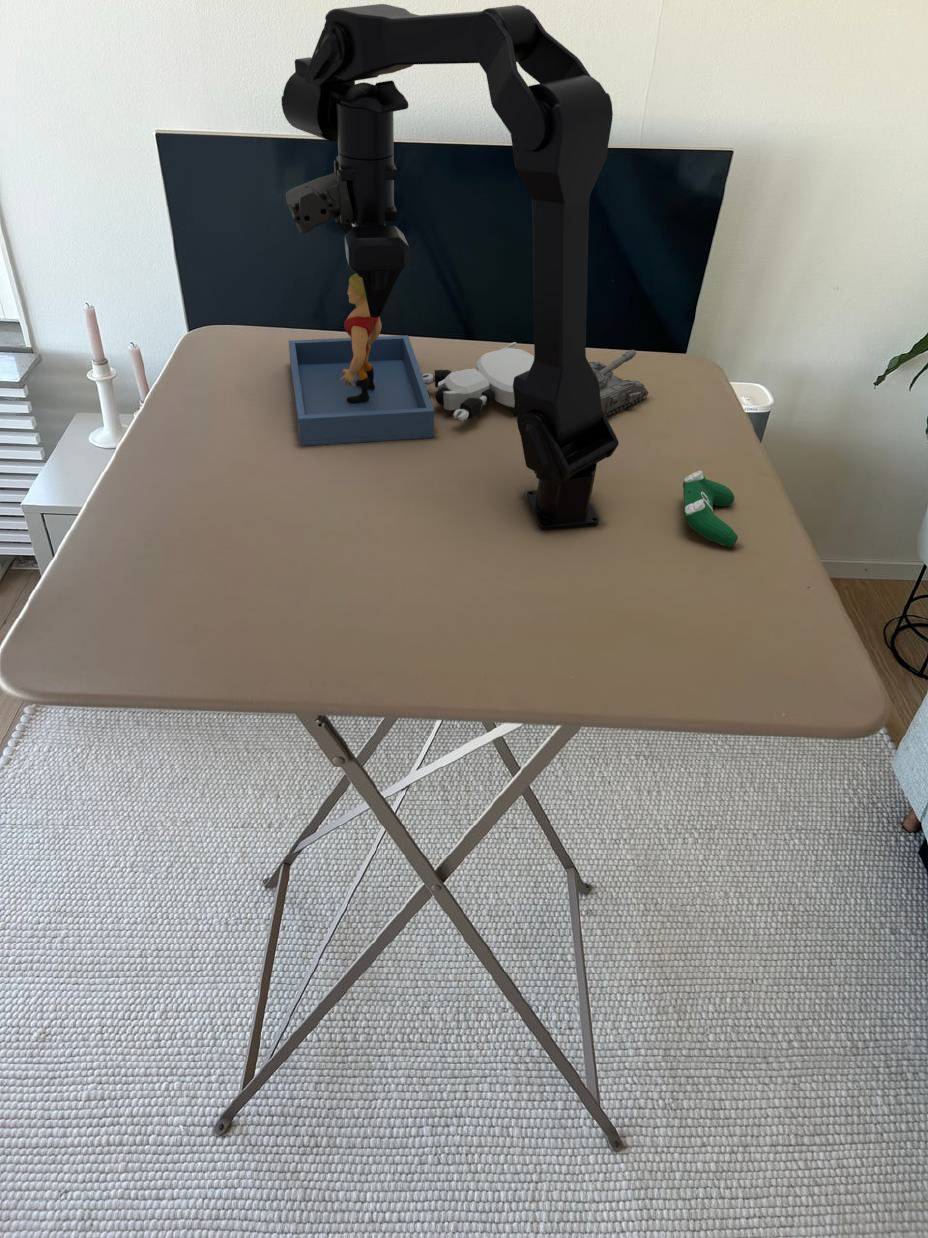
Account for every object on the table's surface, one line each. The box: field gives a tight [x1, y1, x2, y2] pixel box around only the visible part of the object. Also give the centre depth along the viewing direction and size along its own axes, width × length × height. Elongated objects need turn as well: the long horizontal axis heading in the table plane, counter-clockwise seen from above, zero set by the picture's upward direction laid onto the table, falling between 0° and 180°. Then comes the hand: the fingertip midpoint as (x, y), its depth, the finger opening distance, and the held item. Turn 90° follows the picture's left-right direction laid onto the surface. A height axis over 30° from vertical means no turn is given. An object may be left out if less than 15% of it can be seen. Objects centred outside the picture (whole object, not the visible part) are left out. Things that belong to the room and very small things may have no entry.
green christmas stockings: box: [682, 470, 739, 548], centre depth 94 cm, size 9×4×6 cm
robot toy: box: [422, 341, 534, 422], centre depth 110 cm, size 12×4×15 cm
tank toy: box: [588, 349, 649, 417], centre depth 112 cm, size 12×10×5 cm
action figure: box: [340, 272, 382, 403], centre depth 105 cm, size 10×4×15 cm, turn 170°
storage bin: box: [288, 335, 435, 447], centre depth 109 cm, size 20×16×4 cm
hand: (369, 299), depth 102 cm, fingers open, 9 cm apart
